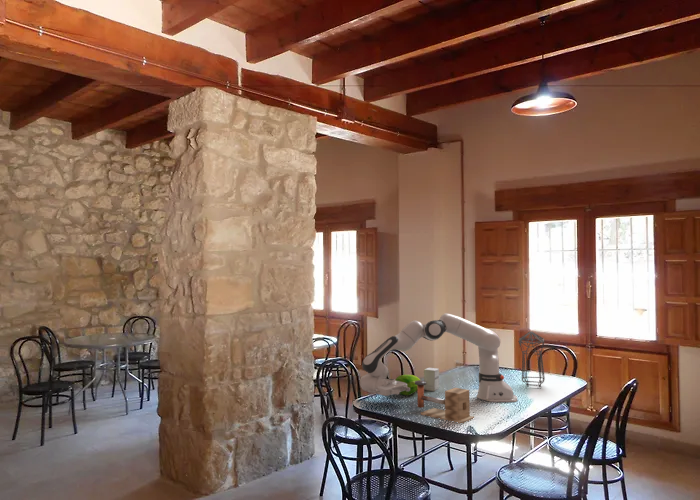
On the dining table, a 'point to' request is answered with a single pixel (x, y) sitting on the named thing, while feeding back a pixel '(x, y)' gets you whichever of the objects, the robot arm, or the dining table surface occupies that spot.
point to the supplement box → (431, 379)
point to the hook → (421, 396)
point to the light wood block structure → (453, 407)
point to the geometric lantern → (537, 355)
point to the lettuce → (408, 383)
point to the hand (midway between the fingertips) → (404, 391)
